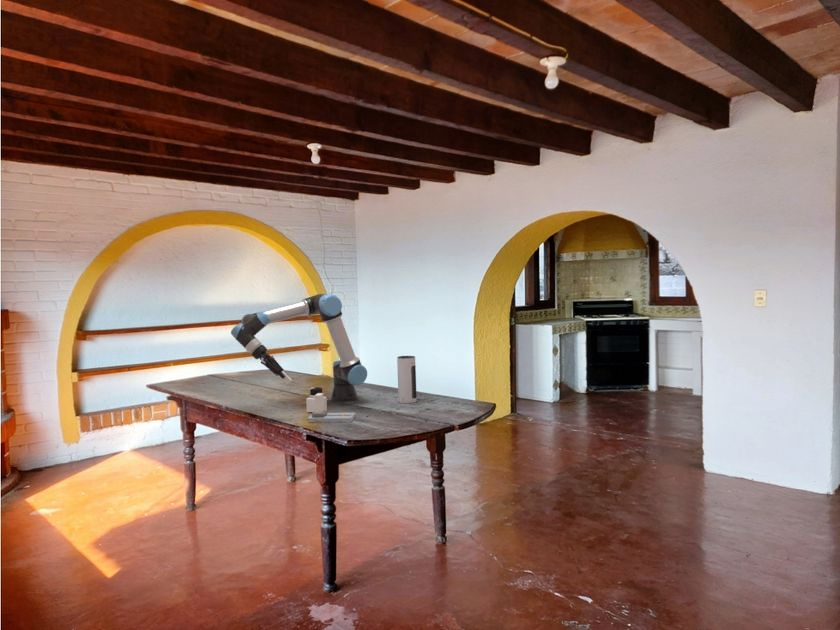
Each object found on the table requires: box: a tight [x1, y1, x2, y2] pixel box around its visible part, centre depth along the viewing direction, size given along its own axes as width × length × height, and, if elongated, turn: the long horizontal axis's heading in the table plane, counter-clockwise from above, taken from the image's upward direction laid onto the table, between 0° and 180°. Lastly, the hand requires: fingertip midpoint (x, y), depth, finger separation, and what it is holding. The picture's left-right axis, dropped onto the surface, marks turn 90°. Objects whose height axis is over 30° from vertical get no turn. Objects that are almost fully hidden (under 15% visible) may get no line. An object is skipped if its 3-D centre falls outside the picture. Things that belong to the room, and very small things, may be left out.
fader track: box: [306, 412, 357, 423], centre depth 296 cm, size 12×22×2 cm, turn 85°
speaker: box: [396, 355, 418, 405], centre depth 332 cm, size 11×10×26 cm
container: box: [305, 386, 328, 413], centre depth 313 cm, size 8×8×13 cm
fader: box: [311, 392, 329, 417], centre depth 296 cm, size 8×6×10 cm
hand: (289, 382), depth 297 cm, fingers closed
